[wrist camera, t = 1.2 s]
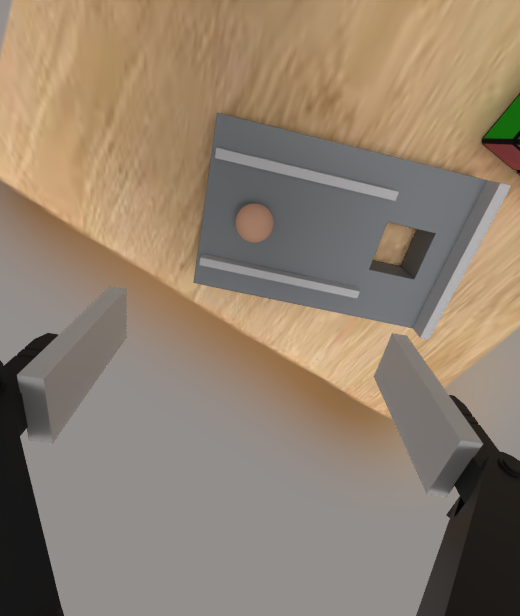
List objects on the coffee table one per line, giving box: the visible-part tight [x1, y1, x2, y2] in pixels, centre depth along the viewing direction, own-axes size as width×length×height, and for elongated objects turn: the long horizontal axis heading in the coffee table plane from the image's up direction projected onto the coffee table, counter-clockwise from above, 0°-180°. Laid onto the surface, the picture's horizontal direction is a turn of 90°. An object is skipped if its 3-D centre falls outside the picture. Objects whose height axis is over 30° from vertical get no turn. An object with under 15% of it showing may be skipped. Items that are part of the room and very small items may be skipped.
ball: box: [236, 203, 274, 242], centre depth 31 cm, size 4×4×4 cm
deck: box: [194, 113, 511, 340], centre depth 34 cm, size 16×26×6 cm, turn 78°
